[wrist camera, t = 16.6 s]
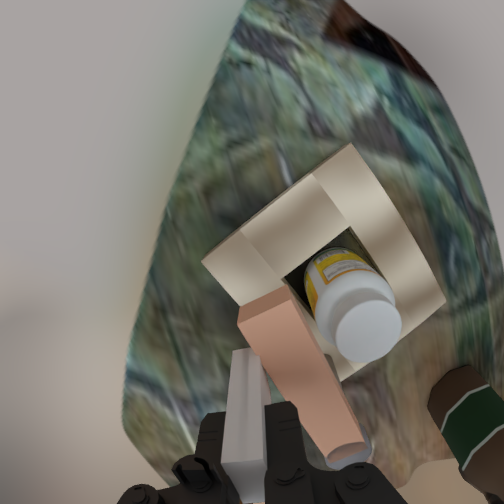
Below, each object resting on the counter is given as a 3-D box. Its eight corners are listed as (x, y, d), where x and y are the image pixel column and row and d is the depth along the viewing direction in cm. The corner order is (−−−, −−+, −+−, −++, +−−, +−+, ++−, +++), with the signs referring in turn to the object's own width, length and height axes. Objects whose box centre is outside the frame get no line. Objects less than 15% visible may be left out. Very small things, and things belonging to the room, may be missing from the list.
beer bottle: (420, 387, 28) (516, 559, 4) (475, 351, 27) (594, 489, 3) (429, 423, 29) (501, 568, 6) (479, 391, 28) (568, 515, 5)
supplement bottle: (325, 233, 24) (362, 268, 15) (376, 266, 25) (430, 313, 15) (290, 289, 25) (304, 351, 16) (341, 318, 26) (374, 384, 16)
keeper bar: (369, 438, 16) (376, 457, 14) (329, 454, 17) (333, 474, 15) (290, 282, 14) (295, 297, 12) (236, 308, 14) (232, 326, 12)
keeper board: (436, 293, 25) (501, 346, 15) (318, 381, 27) (338, 463, 17) (343, 145, 22) (400, 126, 12) (205, 254, 25) (168, 307, 15)
